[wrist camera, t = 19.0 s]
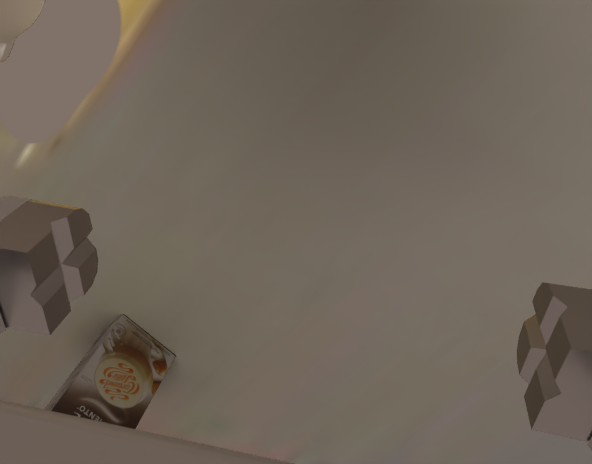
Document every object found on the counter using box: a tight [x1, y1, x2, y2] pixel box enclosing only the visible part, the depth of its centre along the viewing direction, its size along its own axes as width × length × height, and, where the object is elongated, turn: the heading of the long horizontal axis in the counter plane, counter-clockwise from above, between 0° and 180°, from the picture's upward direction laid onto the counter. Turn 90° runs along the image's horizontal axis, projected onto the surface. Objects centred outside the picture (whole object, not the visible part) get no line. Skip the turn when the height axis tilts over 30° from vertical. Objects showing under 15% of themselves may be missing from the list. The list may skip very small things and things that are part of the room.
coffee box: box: [44, 315, 175, 429], centre depth 62 cm, size 9×6×16 cm
